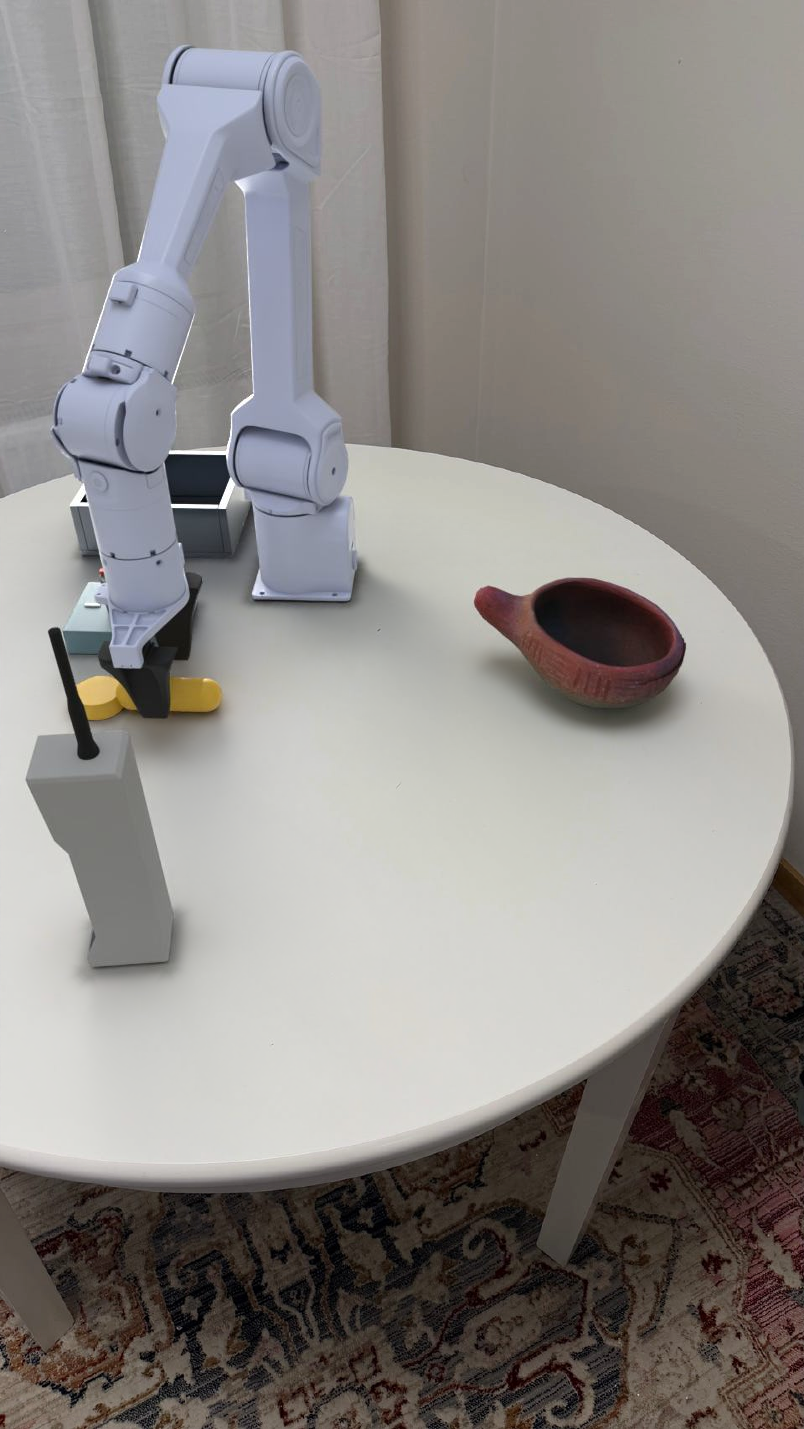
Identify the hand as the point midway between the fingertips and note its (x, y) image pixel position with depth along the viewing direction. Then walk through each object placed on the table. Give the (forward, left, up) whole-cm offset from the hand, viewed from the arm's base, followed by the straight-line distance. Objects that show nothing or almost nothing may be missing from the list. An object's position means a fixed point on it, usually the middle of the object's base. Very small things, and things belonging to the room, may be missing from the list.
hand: (166, 685), depth 82 cm
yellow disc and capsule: (+2, 0, -2) cm, 3 cm away
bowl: (-34, -4, -3) cm, 34 cm away
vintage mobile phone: (-3, +24, -3) cm, 24 cm away
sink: (+7, -30, -2) cm, 31 cm away
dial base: (+6, -11, -2) cm, 13 cm away
